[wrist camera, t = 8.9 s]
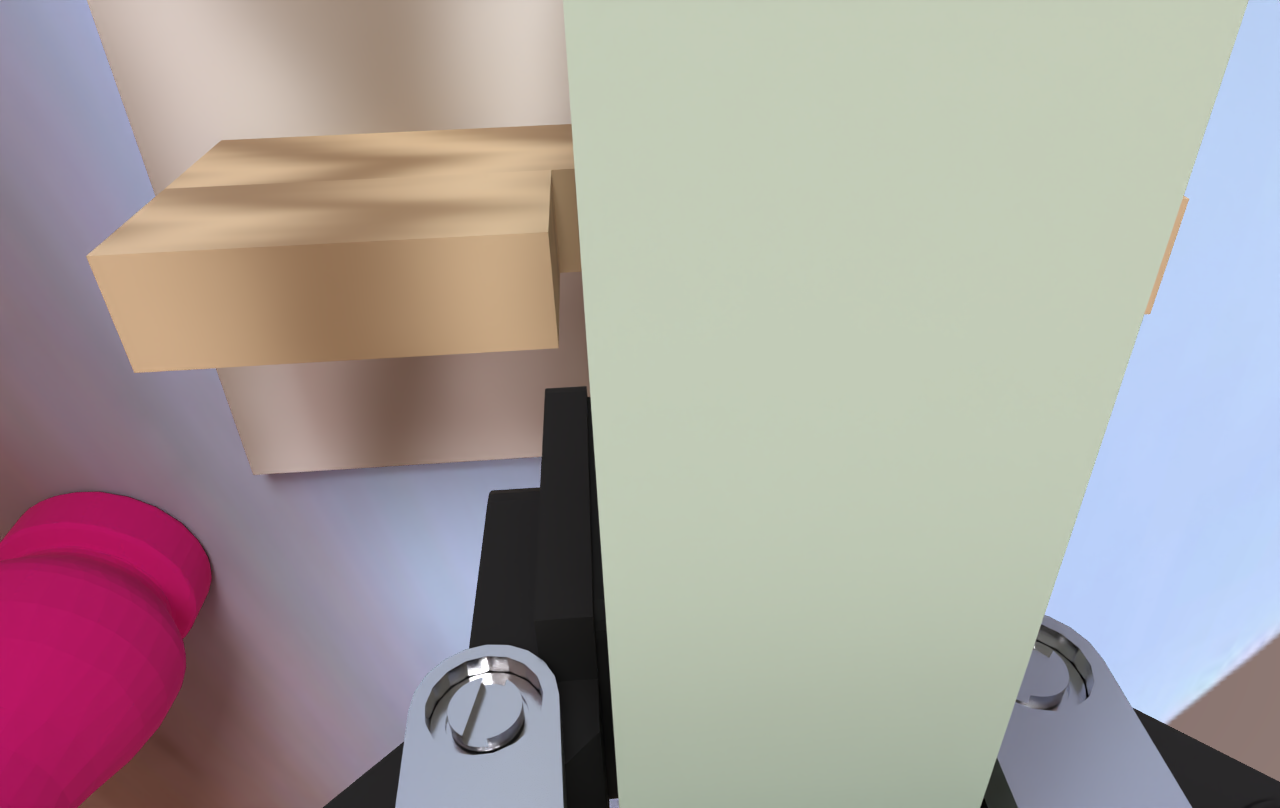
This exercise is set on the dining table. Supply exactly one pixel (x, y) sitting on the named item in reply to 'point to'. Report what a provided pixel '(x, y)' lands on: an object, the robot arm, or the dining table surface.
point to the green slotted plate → (858, 362)
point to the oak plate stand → (355, 221)
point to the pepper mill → (89, 640)
